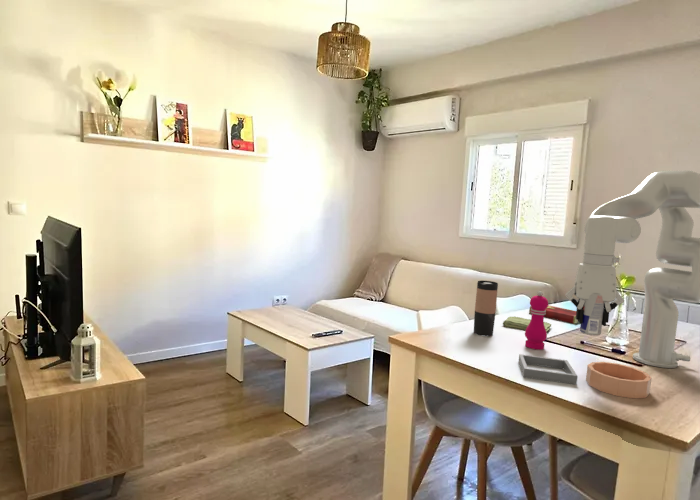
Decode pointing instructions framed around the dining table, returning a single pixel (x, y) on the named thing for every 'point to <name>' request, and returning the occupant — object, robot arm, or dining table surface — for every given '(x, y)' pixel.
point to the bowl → (618, 379)
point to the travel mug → (485, 308)
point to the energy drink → (592, 315)
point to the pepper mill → (537, 323)
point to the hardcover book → (560, 314)
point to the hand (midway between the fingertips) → (591, 322)
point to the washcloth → (521, 323)
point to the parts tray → (547, 375)
